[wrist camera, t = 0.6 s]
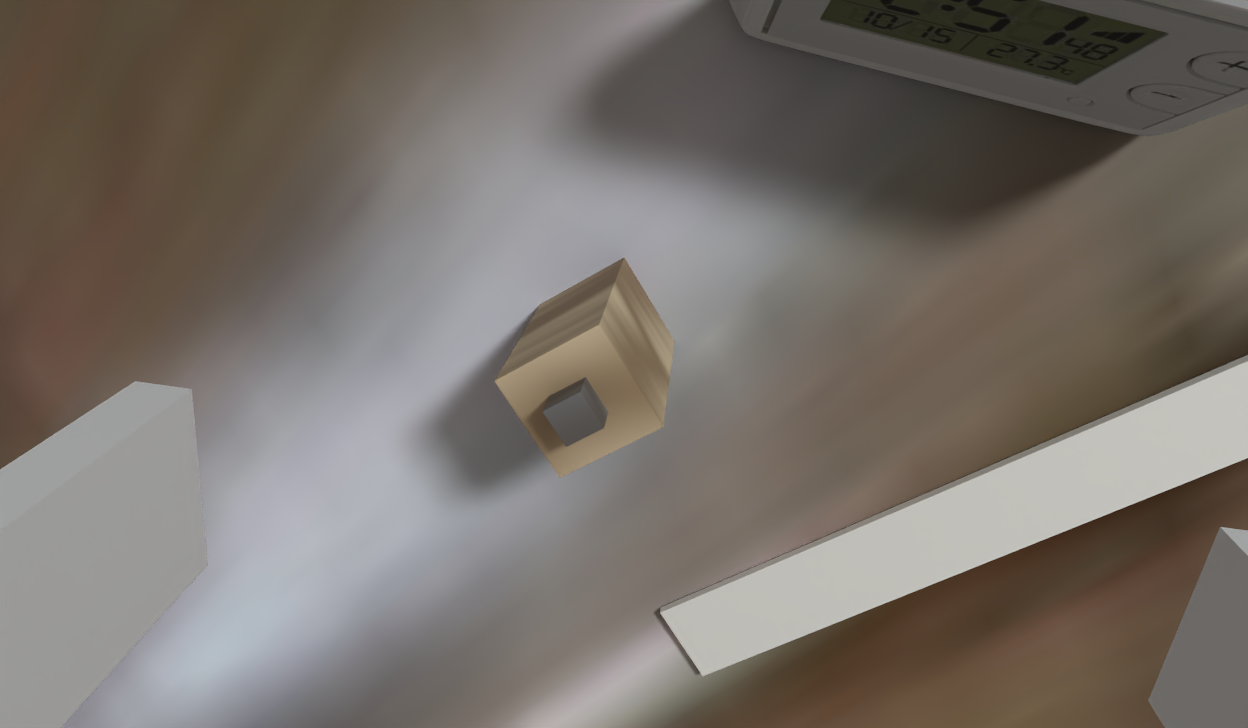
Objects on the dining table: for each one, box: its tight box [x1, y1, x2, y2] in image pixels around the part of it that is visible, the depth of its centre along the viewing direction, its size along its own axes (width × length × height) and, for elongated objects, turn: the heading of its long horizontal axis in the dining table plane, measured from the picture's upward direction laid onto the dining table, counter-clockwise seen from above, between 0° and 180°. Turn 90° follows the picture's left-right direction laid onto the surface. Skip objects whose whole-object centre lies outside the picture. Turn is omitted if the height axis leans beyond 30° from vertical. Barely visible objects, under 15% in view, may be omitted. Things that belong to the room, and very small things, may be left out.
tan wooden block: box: [495, 258, 675, 477], centre depth 32 cm, size 4×4×9 cm
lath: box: [660, 355, 1248, 676], centre depth 37 cm, size 4×36×1 cm, turn 121°
